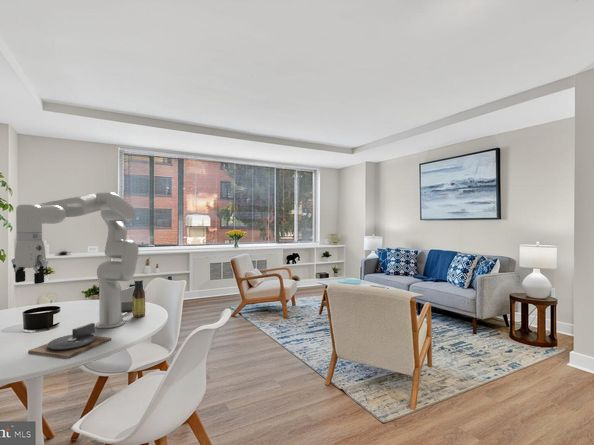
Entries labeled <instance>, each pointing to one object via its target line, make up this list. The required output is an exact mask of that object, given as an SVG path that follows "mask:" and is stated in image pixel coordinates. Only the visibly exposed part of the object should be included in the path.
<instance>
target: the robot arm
mask: <svg viewBox="0 0 594 445" xmlns="http://www.w3.org/2000/svg"><path fill="white" fill-rule="evenodd" d="M99 211H100V216H101V218H102V220H103V221H104V223H105V224H106V226H107V230H108V231H107V237H106V241H105V247H104V248H105V249H104V255H105V257H106V258H107V259H108V258H109V259H113V260H115V259H116V260H121V261H116V260H115V261H113V260H112V261H111V260H110V261H109V260H108V261H104V262H101V263H99V265H98V267H97V269H96V275H97V279H98V289H99V294H98V295H99V305H98V306H99V309H98V310H99V312H98V316H99V317H98V318H99V321H98V322H96V323H95V328H97V329H113V328H117V327H121V326H123V325H125V323H126V321H125V319H124V317H127V316H129V313H128V311H126V312H122V310H121V290H122V287H121V283H120V282H128V281H130V280H132V279H133V278H134V275H135V273H136V268H137V264H138V257H139V251H140V250H139V245H138V243H137V242H135V241H134V240H131V239H127V238H128V237H127V234H128V229H127V226H126V225H125V223H124V222H131V221H133V220H134V219H135V217H136V209H135V207H134V206H133V205H132V204H131V203H130V202H128V201H127V200H125V199H124V198H123V197H122V196H120V195H119V194H117V193H115V192H112V191H107V192H105V191H102V192H93V193H88V194H83V195H80V196H74V197H68V198H63V199H57V200H52V201H51V200H50V201H46V202H40V203H38V204H37V203H36V204H19V205H17V206H16V210H15V215H16V217H15V219H16V220H15V223H16V224H15V227H16V234H15V235H16V242H15V248H14V249H15V250H14V258H13V259H11V264H12V268H13V271H14V276H15V277H14V279H15V280H14V281H15V284H16V283H24V282H25V281H26V270H25V269H26V268H28V269H29V268H30V269H33V270H34V274H33V278H34V280H33V283H34V284H35V285H37V284H38V285H40V284H44V283H45V272H46V269H47V267H48V264H49V260H47V259H46V258H47V257H46V256H47V255H46V249H45V247H46V246H45V243H44V240H43V224H45V225H46V224H47V225H48V224H49V225H53V224H54V225H55V224H59V223H63V221H64V220H65V219H66V218H75V217H76V218H77V217H81V216H86V215H89V214H92V213H96V212H99Z"/></svg>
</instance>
